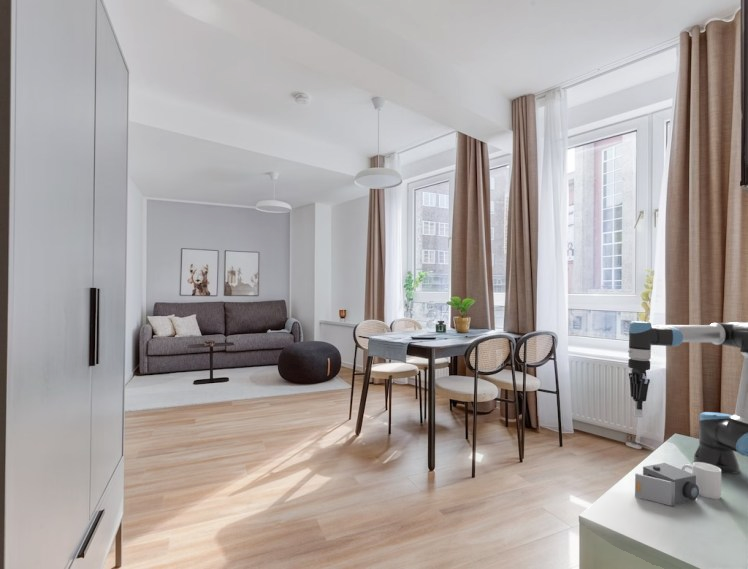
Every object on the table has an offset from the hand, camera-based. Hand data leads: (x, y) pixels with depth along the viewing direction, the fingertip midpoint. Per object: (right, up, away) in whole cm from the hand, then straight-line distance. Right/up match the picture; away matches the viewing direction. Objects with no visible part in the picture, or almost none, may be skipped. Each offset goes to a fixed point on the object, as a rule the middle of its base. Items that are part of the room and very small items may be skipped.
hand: (637, 416), depth 163 cm
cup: (+16, -25, -12) cm, 32 cm away
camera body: (+1, -24, -17) cm, 29 cm away
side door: (-8, -23, -21) cm, 32 cm away
